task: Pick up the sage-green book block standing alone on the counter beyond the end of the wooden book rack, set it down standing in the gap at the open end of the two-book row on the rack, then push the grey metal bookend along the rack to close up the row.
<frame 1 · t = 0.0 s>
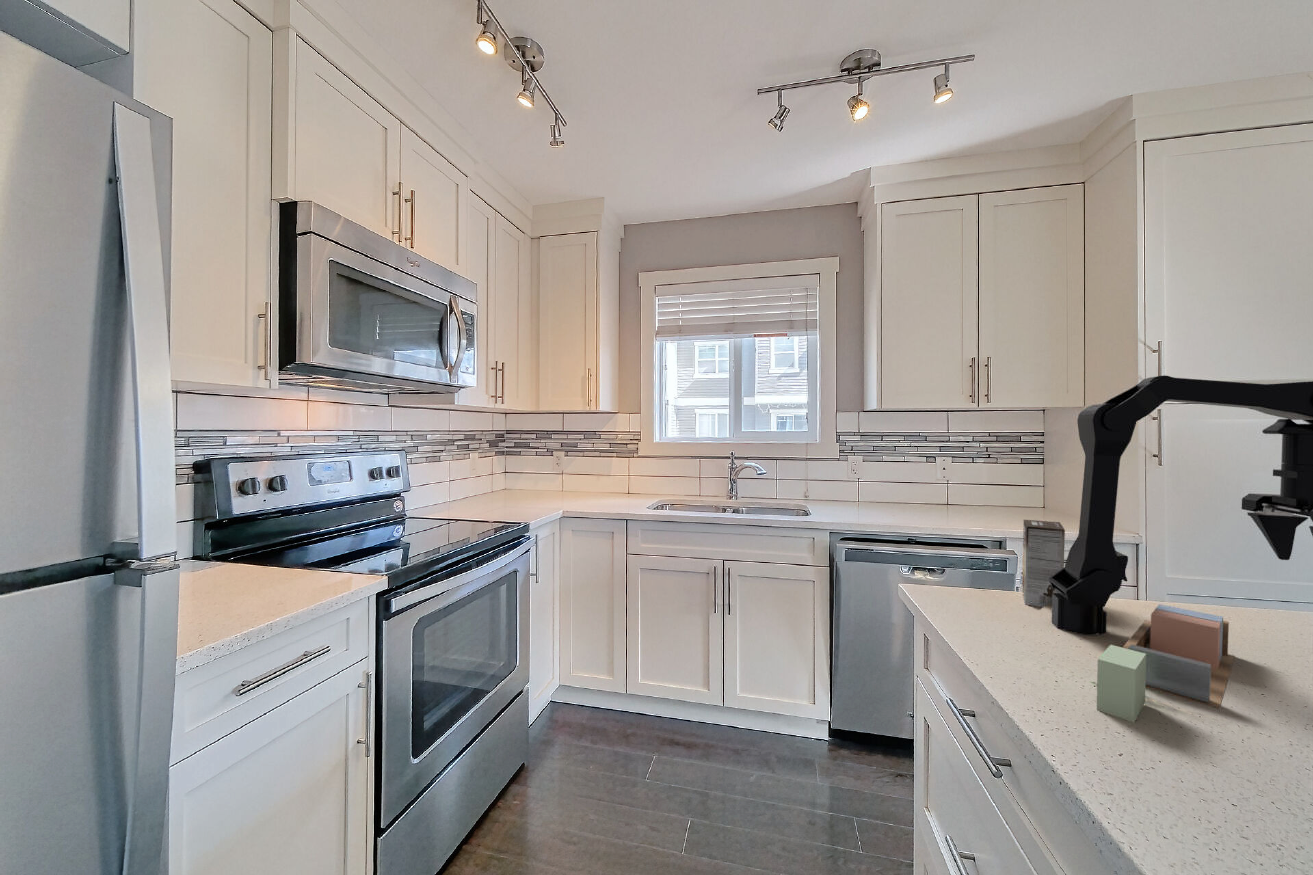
hand: (1307, 566, 78), 15 cm above the worktop, tool pointing down, fingers open, 9 cm apart
book brick: (1184, 657, 78), point 1 cm above the worktop, touching wooden book rack
wooden book rack: (1176, 672, 75), on the worktop
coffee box: (1041, 602, 106), on the worktop
green book: (1121, 706, 66), on the worktop
book blue: (1187, 650, 80), point 1 cm above the worktop, touching wooden book rack
bookend: (1167, 672, 68), point 3 cm above the worktop, slide at 0.0 cm
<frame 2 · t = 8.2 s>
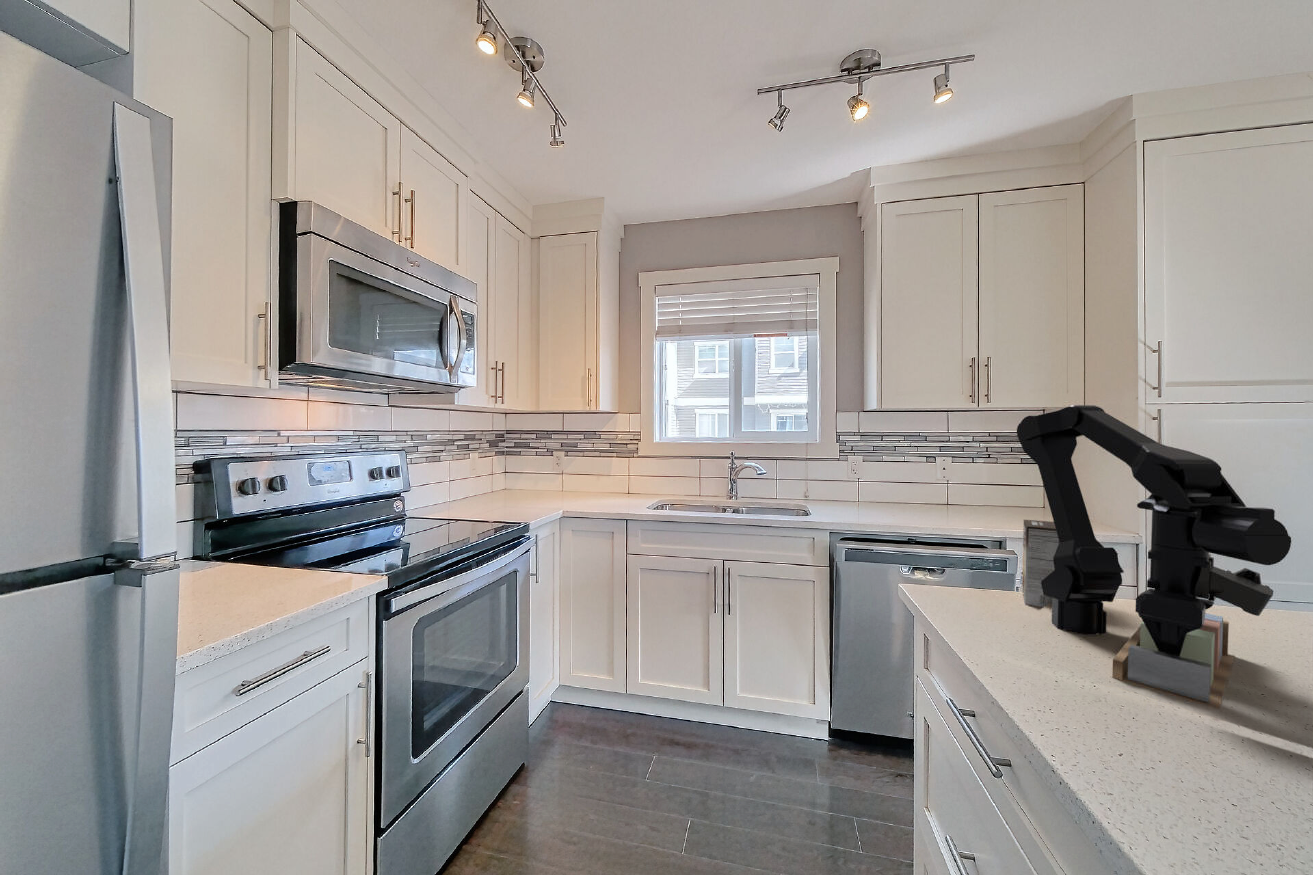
hand: (1175, 656, 72), 3 cm above the worktop, tool pointing down, fingers open, 9 cm apart
book brick: (1184, 657, 78), point 1 cm above the worktop, touching gripper, wooden book rack
green book: (1175, 673, 72), point 1 cm above the worktop, touching wooden book rack
everything else where it was.
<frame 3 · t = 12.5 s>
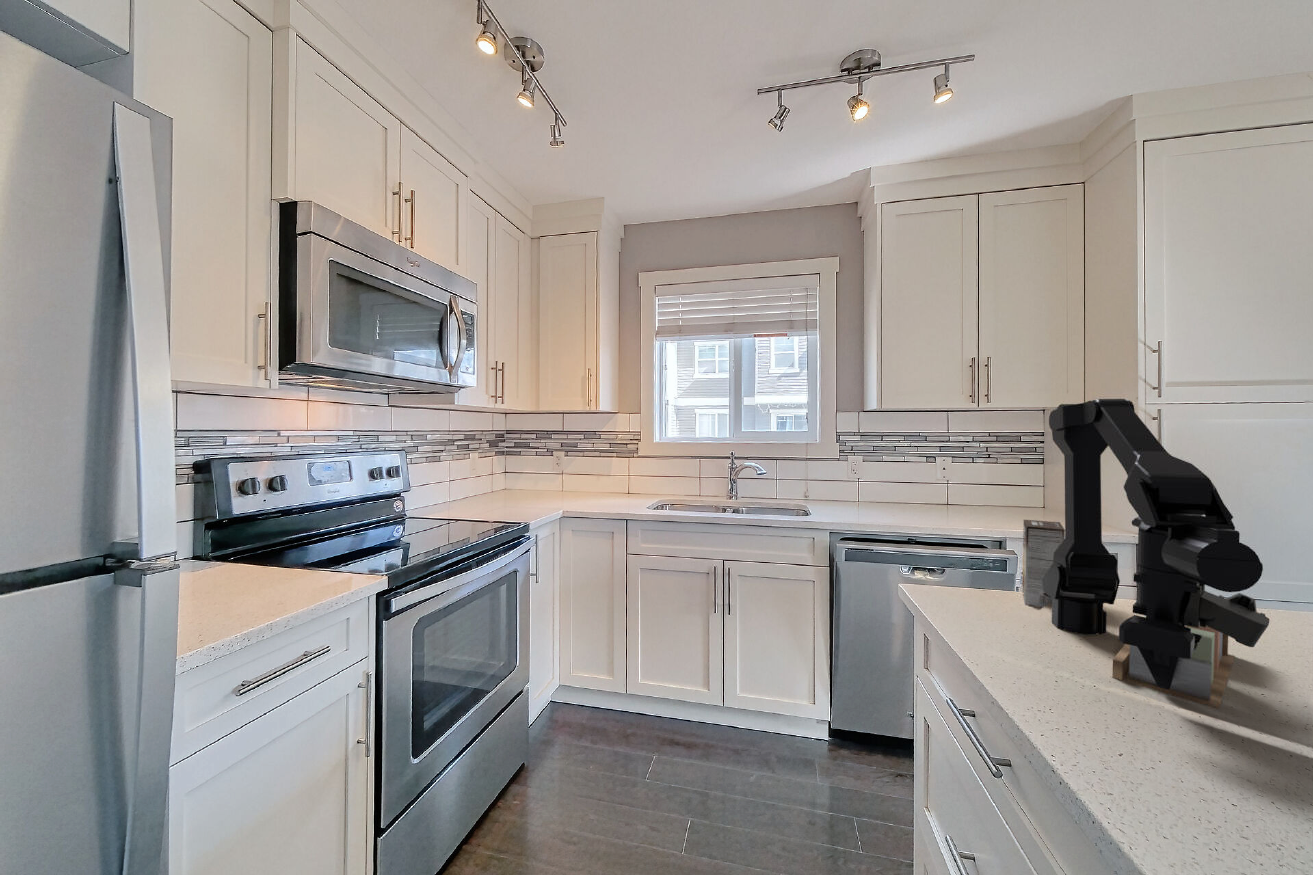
hand: (1163, 687, 67), 2 cm above the worktop, tool pointing down, fingers closed
book brick: (1184, 657, 78), point 1 cm above the worktop, touching wooden book rack
bookend: (1168, 670, 68), point 3 cm above the worktop, slide at 0.9 cm, touching gripper
everything else where it was.
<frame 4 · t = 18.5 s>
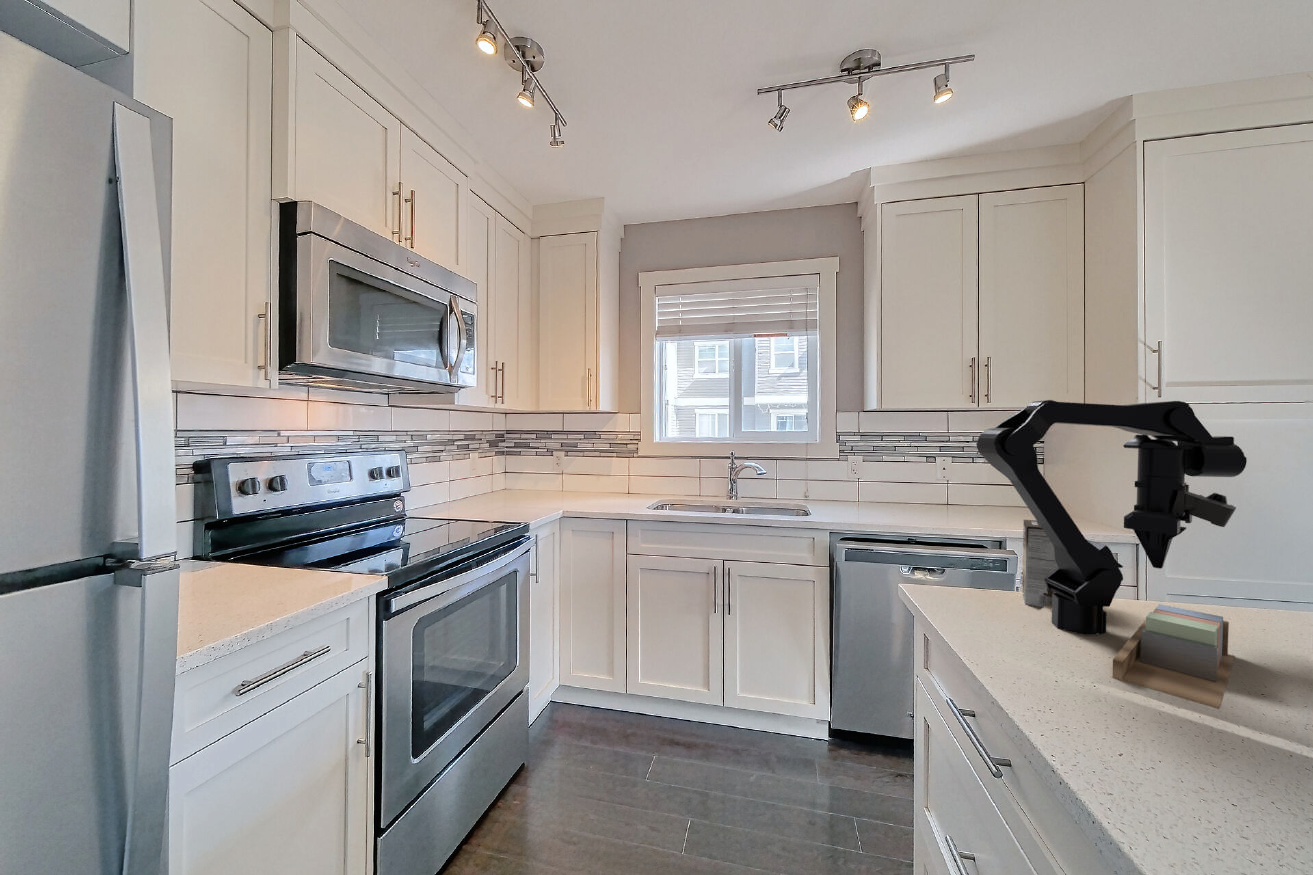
hand: (1157, 567, 87), 12 cm above the worktop, tool pointing down, fingers closed
green book: (1179, 665, 75), point 1 cm above the worktop, touching bookend, wooden book rack
bookend: (1177, 654, 73), point 3 cm above the worktop, slide at 8.8 cm, touching green book
everything else where it was.
at the end: green book 4.2 cm from the book brick (horizontally); green book tilted 0°; bookend slide at 8.8 cm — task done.
